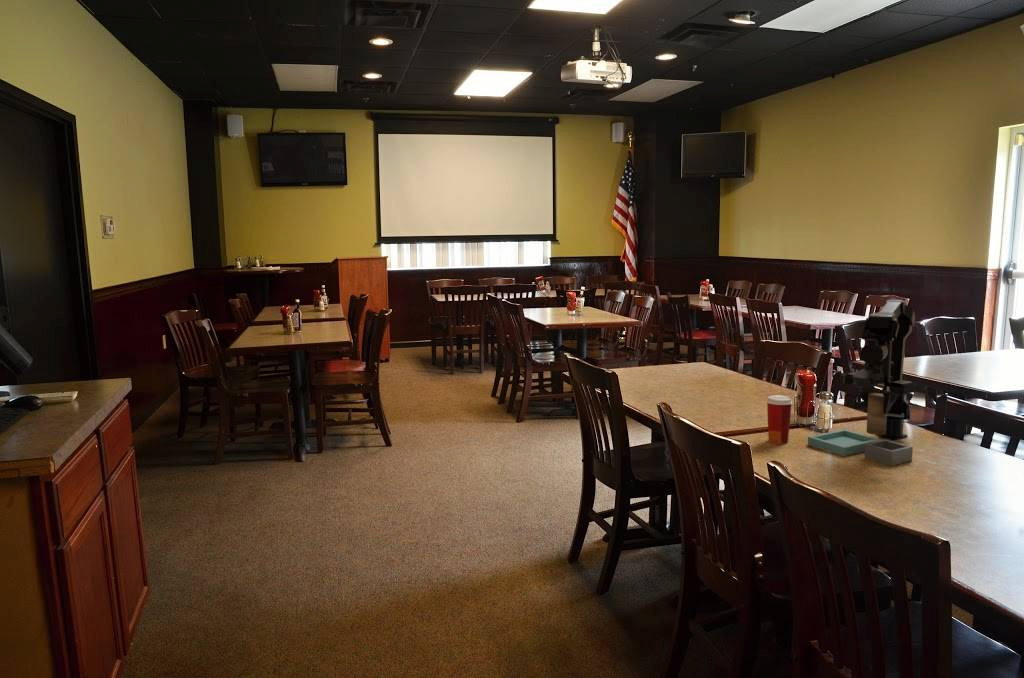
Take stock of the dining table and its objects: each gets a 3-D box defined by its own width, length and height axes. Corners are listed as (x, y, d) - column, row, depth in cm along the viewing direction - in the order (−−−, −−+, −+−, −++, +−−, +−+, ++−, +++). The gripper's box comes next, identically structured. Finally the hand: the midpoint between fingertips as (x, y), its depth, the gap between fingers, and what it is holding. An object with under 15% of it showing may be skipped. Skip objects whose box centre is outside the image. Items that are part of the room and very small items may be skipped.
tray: (843, 436, 225) (844, 429, 225) (881, 447, 214) (881, 439, 213) (807, 444, 218) (807, 436, 218) (844, 456, 207) (844, 447, 206)
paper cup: (787, 438, 226) (788, 394, 223) (794, 445, 218) (795, 400, 216) (761, 438, 226) (763, 394, 224) (768, 445, 219) (769, 400, 217)
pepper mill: (873, 429, 209) (875, 392, 207) (889, 433, 205) (891, 395, 203) (862, 431, 207) (864, 394, 205) (878, 436, 202) (880, 398, 201)
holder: (884, 452, 209) (884, 439, 208) (912, 460, 201) (912, 446, 200) (864, 457, 205) (864, 443, 204) (891, 465, 197) (892, 451, 197)
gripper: (831, 357, 207) (830, 409, 209) (891, 367, 191) (889, 423, 193) (857, 352, 212) (855, 404, 215) (918, 362, 196) (915, 417, 198)
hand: (877, 412), depth 205 cm, fingers closed on pepper mill, 5 cm apart
